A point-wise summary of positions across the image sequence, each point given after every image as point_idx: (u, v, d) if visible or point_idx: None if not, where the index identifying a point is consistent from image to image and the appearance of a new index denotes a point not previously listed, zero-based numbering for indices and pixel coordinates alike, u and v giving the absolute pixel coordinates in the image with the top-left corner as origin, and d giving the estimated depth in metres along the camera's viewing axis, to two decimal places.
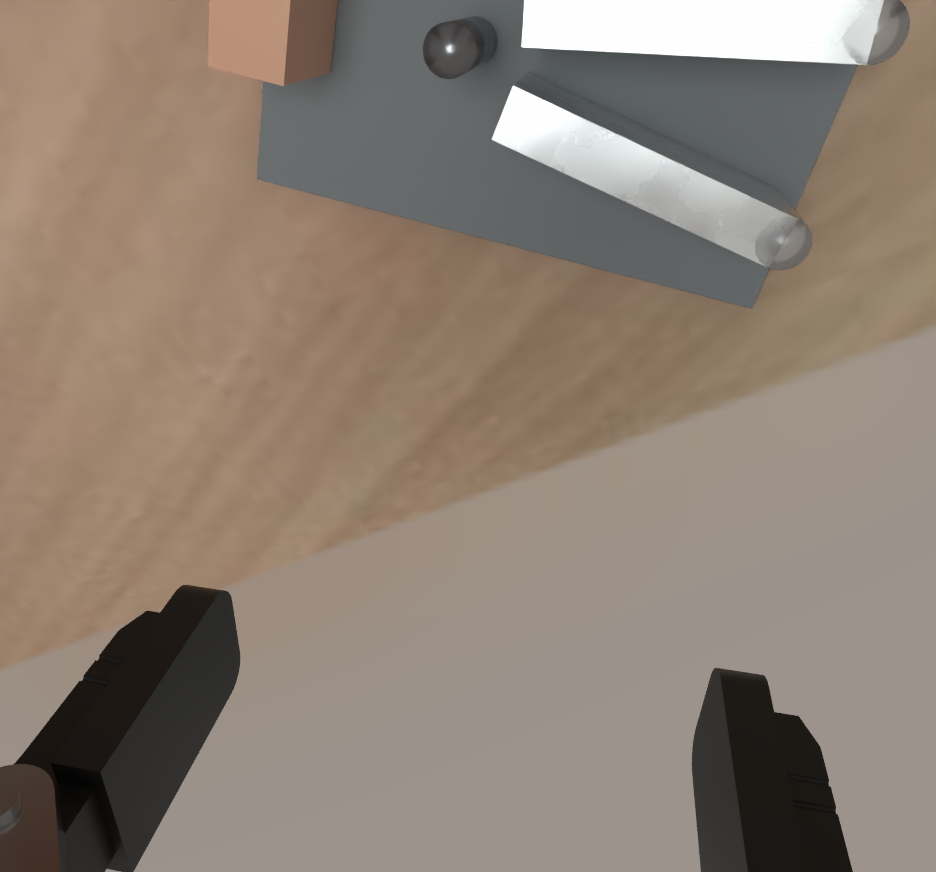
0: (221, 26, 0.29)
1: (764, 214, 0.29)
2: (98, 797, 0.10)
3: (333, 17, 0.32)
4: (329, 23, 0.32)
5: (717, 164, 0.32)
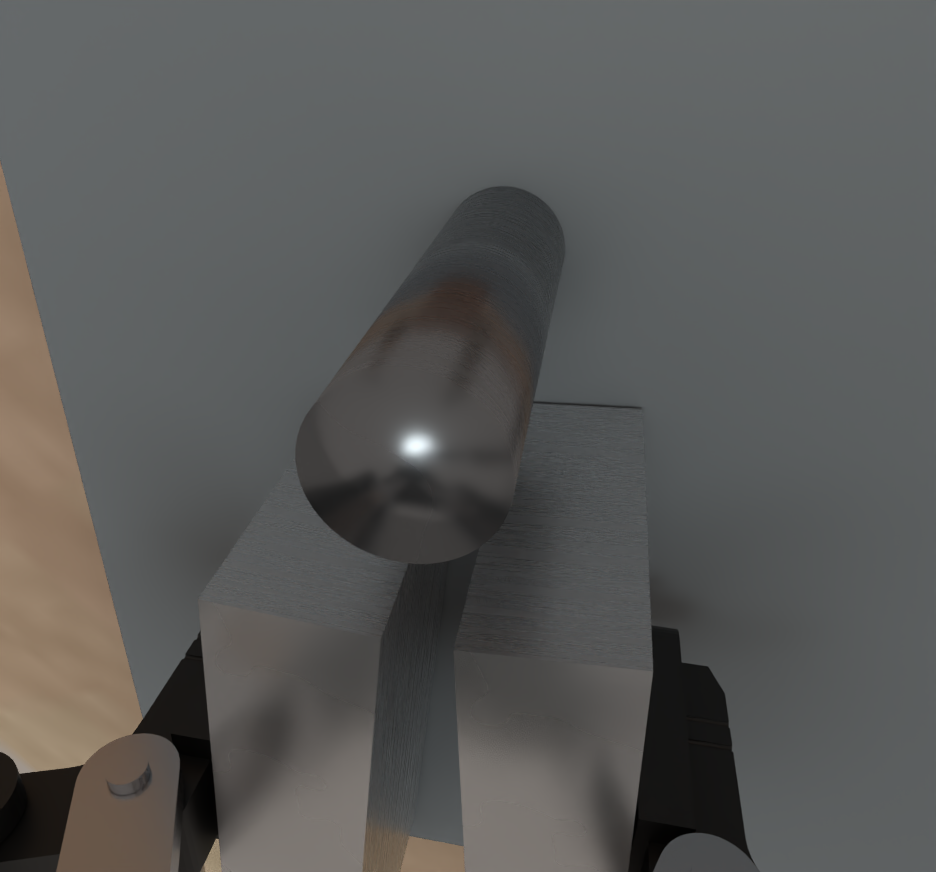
0: None
1: None
2: None
3: None
4: None
5: (412, 785, 0.16)
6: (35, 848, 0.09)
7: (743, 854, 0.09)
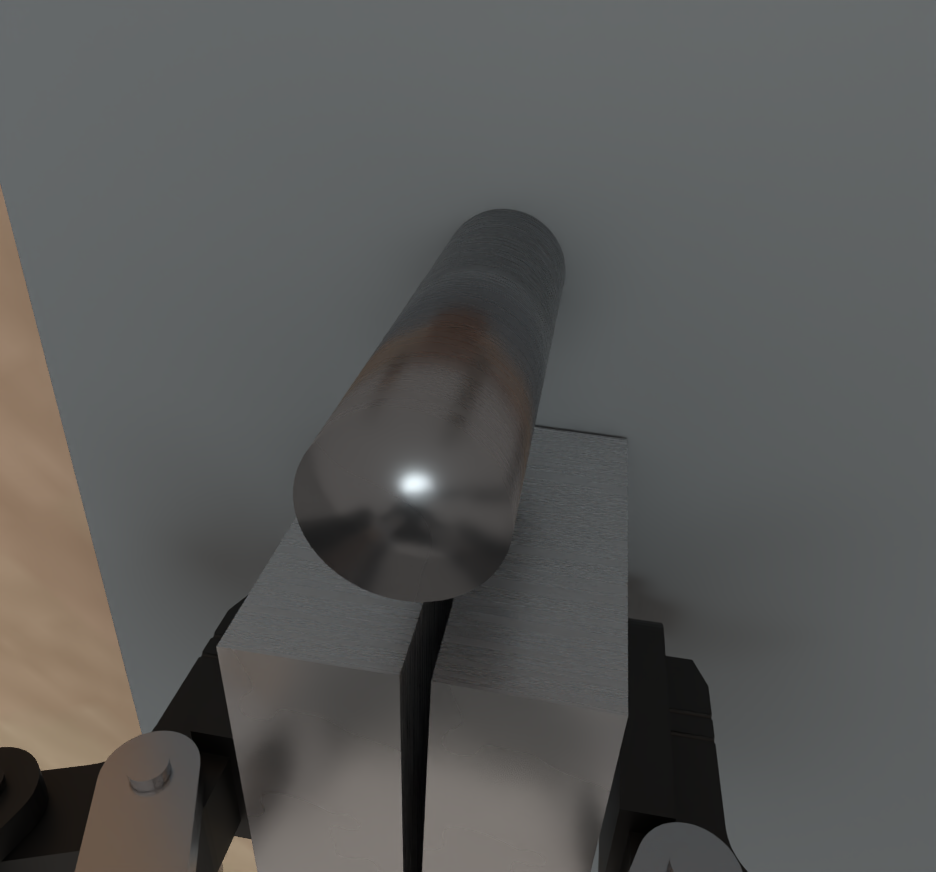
0: None
1: None
2: (233, 764, 0.10)
3: None
4: None
5: None
6: (54, 848, 0.09)
7: (720, 841, 0.09)
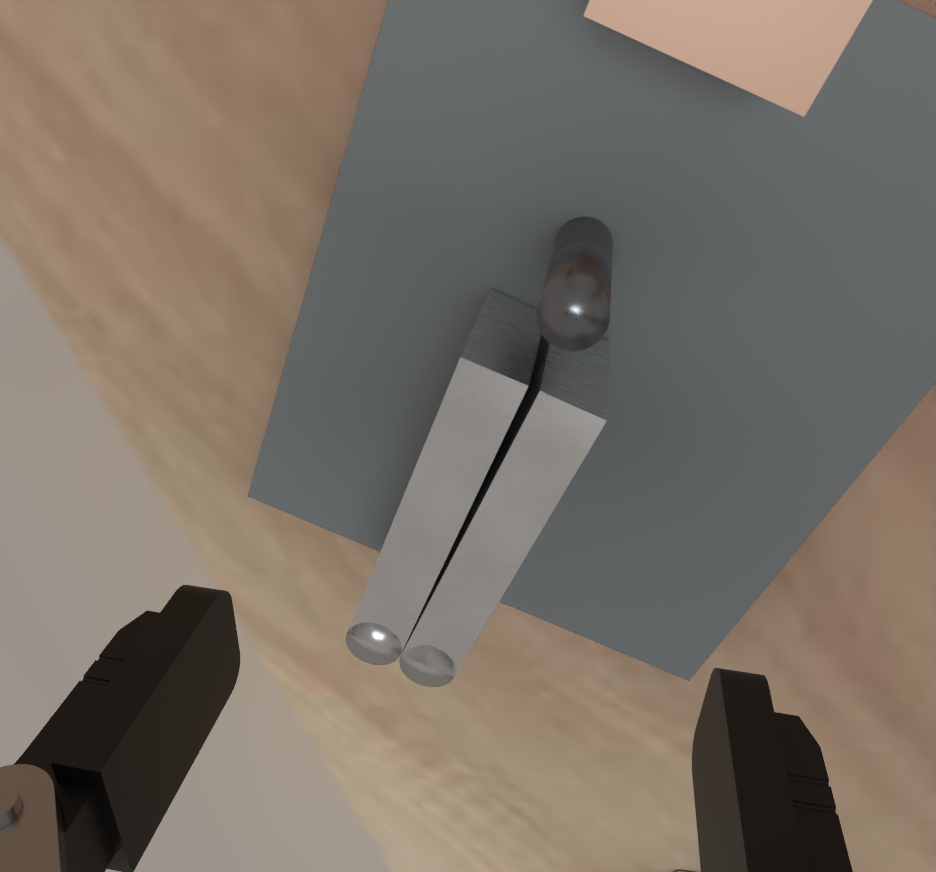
0: None
1: (401, 628, 0.26)
2: (98, 797, 0.10)
3: None
4: None
5: None
6: None
7: None
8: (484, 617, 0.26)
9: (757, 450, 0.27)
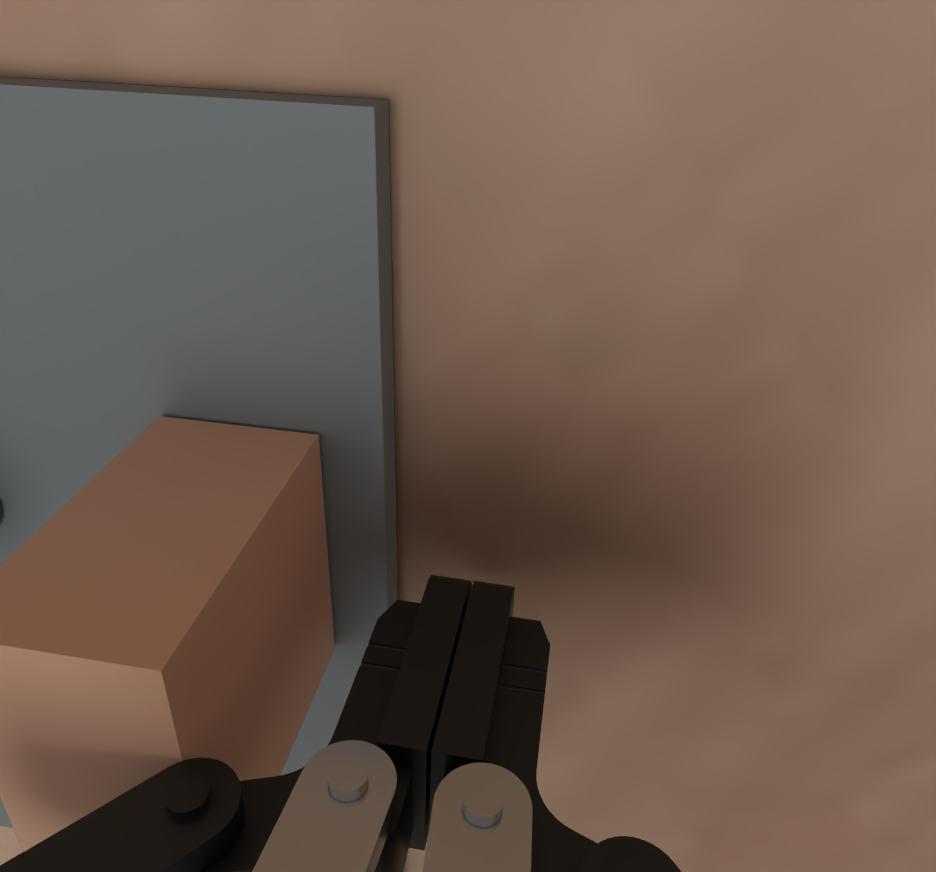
0: (144, 748, 0.10)
1: None
2: (416, 775, 0.10)
3: None
4: None
5: None
6: None
7: (501, 768, 0.10)
8: None
9: None
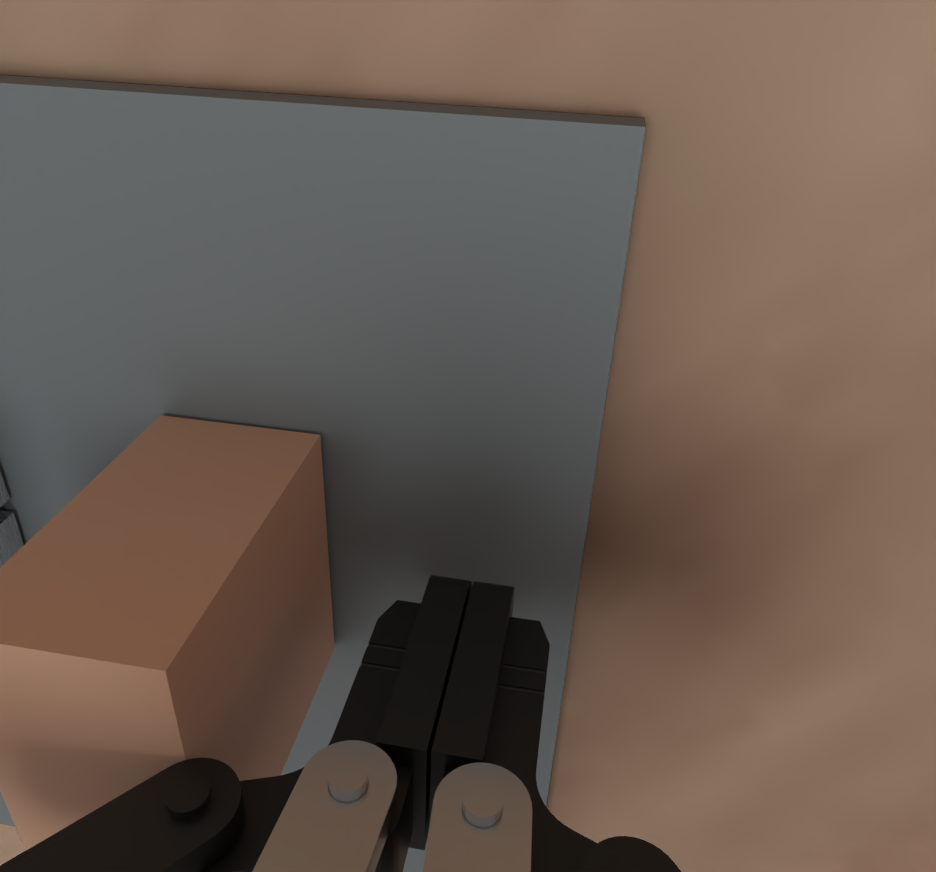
0: (148, 747, 0.10)
1: None
2: (416, 775, 0.10)
3: None
4: None
5: None
6: None
7: (501, 768, 0.10)
8: None
9: None
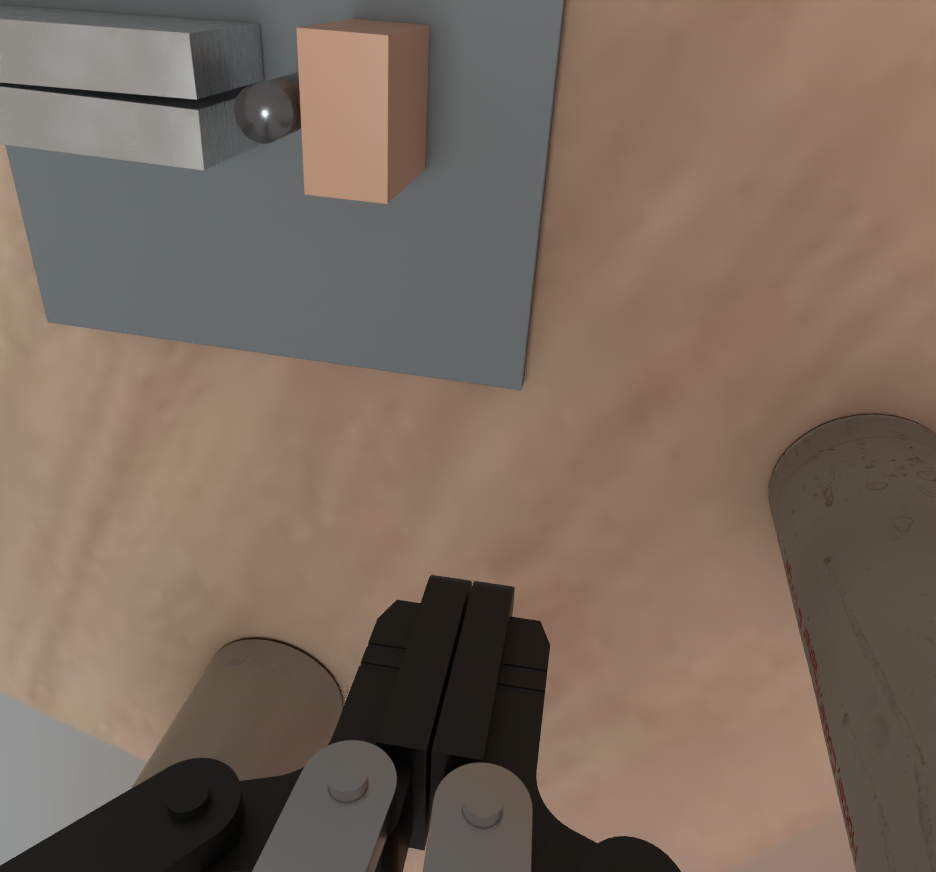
0: (373, 85, 0.25)
1: None
2: (416, 775, 0.10)
3: None
4: None
5: None
6: None
7: (501, 768, 0.10)
8: None
9: (247, 282, 0.36)
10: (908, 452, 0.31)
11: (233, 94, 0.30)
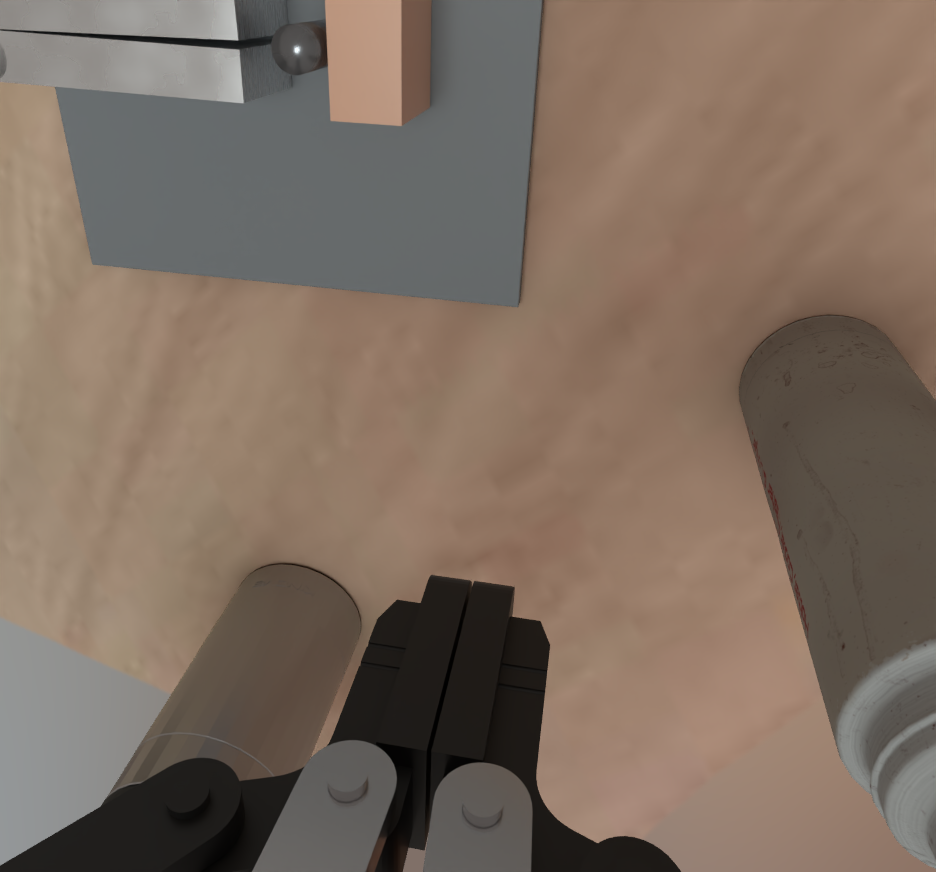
0: (388, 21, 0.30)
1: (1, 19, 0.32)
2: (415, 775, 0.10)
3: None
4: None
5: None
6: None
7: (501, 768, 0.10)
8: (57, 83, 0.33)
9: (273, 218, 0.41)
10: (854, 340, 0.36)
11: (264, 42, 0.34)
